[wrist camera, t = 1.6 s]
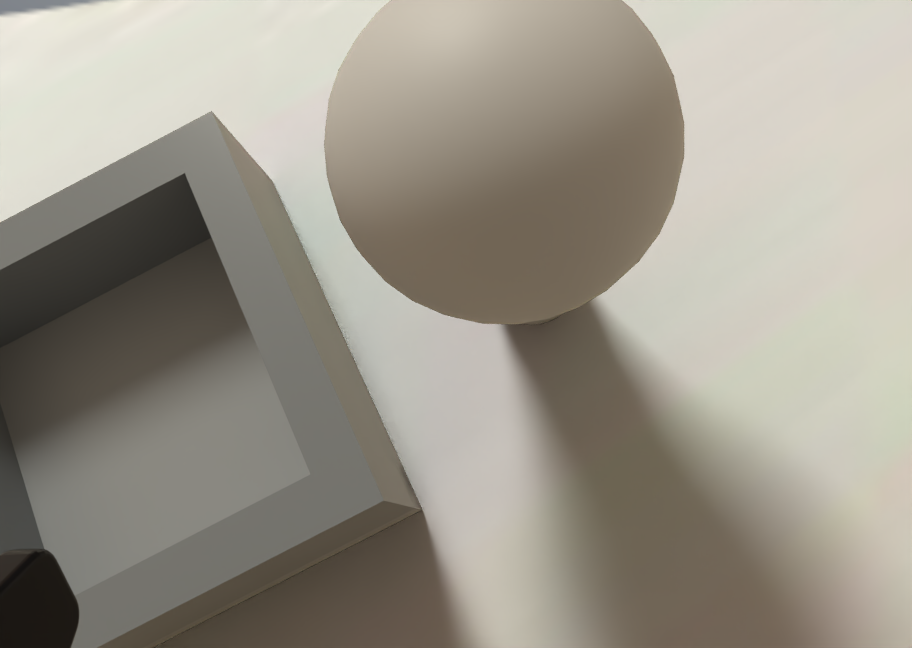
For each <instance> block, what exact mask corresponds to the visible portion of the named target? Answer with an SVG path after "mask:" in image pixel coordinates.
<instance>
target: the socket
mask: <svg viewBox="0 0 912 648" xmlns="http://www.w3.org/2000/svg"><path fill="white" fill-rule="evenodd" d="M421 510H422V508H421V506H420V503H419V501H418V499H417V497H416V495H415V493H414V490H413V488H412V486H411V484H410V482H409V479H408V477H407V475H406V473H405V471H404V468H403V466H402V464H401V462H400V460H399V457H398V455H397V453H396V451H395V449H394V446H393V444H392V442H391V440H390V438H389V436H388V433H387V431H386V429H385V427H384V425H383V422H382V420H381V418H380V416H379V414H378V411H377V409H376V407H375V405H374V403H373V400H372V398H371V396H370V394H369V392H368V390H367V387H366V385H365V383H364V381H363V379H362V376H361V374H360V372H359V370H358V368H357V365H356V363H355V361H354V359H353V357H352V354H351V352H350V350H349V348H348V346H347V344H346V341H345V339H344V337H343V335H342V333H341V330H340V328H339V326H338V324H337V322H336V319H335V317H334V315H333V313H332V311H331V308H330V306H329V304H328V302H327V300H326V297H325V295H324V293H323V291H322V289H321V287H320V284H319V282H318V280H317V278H316V276H315V273H314V271H313V269H312V267H311V265H310V262H309V260H308V258H307V256H306V254H305V251H304V249H303V247H302V245H301V243H300V241H299V238H298V236H297V234H296V232H295V230H294V227H293V225H292V223H291V221H290V219H289V216H288V214H287V212H286V210H285V208H284V205H283V203H282V201H281V199H280V197H279V195H278V192H277V190H276V188H275V186H274V184H273V181H272V180H271V179H270V178H269V176H268V175H267V174H266V173H265V172H264V171H263V170H262V168H261V167H260V166H259V165H258V164H257V163H256V162H255V160H254V159H253V158H252V157H251V156H250V155H249V154H248V152H247V151H246V150H245V149H244V148H243V147H242V145H241V144H240V143H239V142H238V141H237V140H236V139H235V137H234V136H233V135H232V134H231V133H230V132H229V131H228V129H227V128H226V127H225V126H224V125H223V124H222V122H221V121H220V120H219V119H218V118H217V117H216V116H215V114H214V113H213V112H212V111H211V112H209V113H207V114H205V115H203V116H202V117H200V118H198V119H196V120H194V121H192V122H190V123H188V124H186V125H184V126H183V127H181V128H179V129H177V130H175V131H173V132H171V133H169V134H167V135H165V136H164V137H162V138H160V139H158V140H156V141H154V142H152V143H150V144H148V145H147V146H145V147H143V148H141V149H139V150H137V151H135V152H133V153H131V154H129V155H128V156H126V157H124V158H122V159H120V160H118V161H116V162H114V163H112V164H110V165H109V166H107V167H105V168H103V169H101V170H99V171H97V172H95V173H93V174H92V175H90V176H88V177H86V178H84V179H82V180H80V181H78V182H76V183H74V184H73V185H71V186H69V187H67V188H65V189H63V190H61V191H59V192H57V193H55V194H54V195H52V196H50V197H48V198H46V199H44V200H42V201H40V202H38V203H37V204H35V205H33V206H31V207H29V208H27V209H25V210H23V211H21V212H19V213H18V214H16V215H14V216H12V217H10V218H8V219H6V220H4V221H2V222H0V555H1V554H2V553H4V552H7V551H10V550H15V549H45V550H48V551H49V552H51V553H52V554H53V555H54V556H55V558H56V560H57V561H58V563H59V565H60V567H61V569H62V571H63V573H64V575H65V577H66V579H67V581H68V583H69V585H70V587H71V589H72V591H73V593H74V595H75V597H76V599H77V602H78V605H79V624H78V628H77V631H76V634H75V637H74V640H73V643H72V646H71V648H153V647H155V646H157V645H159V644H161V643H163V642H165V641H167V640H169V639H171V638H172V637H174V636H176V635H178V634H180V633H182V632H184V631H186V630H188V629H190V628H192V627H194V626H196V625H198V624H200V623H202V622H204V621H206V620H208V619H210V618H212V617H214V616H216V615H217V614H219V613H221V612H223V611H225V610H227V609H229V608H231V607H233V606H235V605H237V604H239V603H241V602H243V601H245V600H247V599H249V598H251V597H253V596H255V595H257V594H259V593H260V592H262V591H264V590H266V589H268V588H270V587H272V586H274V585H276V584H278V583H280V582H282V581H284V580H286V579H288V578H290V577H292V576H294V575H296V574H298V573H300V572H302V571H303V570H305V569H307V568H309V567H311V566H313V565H315V564H317V563H319V562H321V561H323V560H325V559H327V558H329V557H331V556H333V555H335V554H337V553H339V552H341V551H343V550H345V549H347V548H348V547H350V546H352V545H354V544H356V543H358V542H360V541H362V540H364V539H366V538H368V537H370V536H372V535H374V534H376V533H378V532H380V531H382V530H384V529H386V528H388V527H390V526H391V525H393V524H395V523H397V522H399V521H401V520H403V519H405V518H407V517H409V516H411V515H413V514H415V513H417V512H419V511H421Z"/></svg>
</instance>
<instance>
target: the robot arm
mask: <svg viewBox="0 0 912 648" xmlns="http://www.w3.org/2000/svg"><path fill="white" fill-rule="evenodd" d="M78 624H79V605H78V602H77V599H76V597H75V595H74V593H73V591H72V589H71V587H70V585H69V583H68V581H67V579H66V577H65V575H64V573H63V571H62V569H61V567H60V565H59V563H58V561H57V560H56V558H55V556H54V555H53V554H52V553H51V552H49V551H48V550H45V549H15V550H10V551H7V552H4V553H2V554H1V555H0V648H71V646H72V643H73V640H74V637H75V634H76V631H77V628H78Z"/></svg>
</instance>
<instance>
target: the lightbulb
mask: <svg viewBox="0 0 912 648" xmlns="http://www.w3.org/2000/svg"><path fill="white" fill-rule="evenodd" d="M324 148H325V159H326V171H327V178H328V181H329V185H330V189H331V193H332V196H333V199H334V202H335V206H336V209H337V212H338V215H339V218H340V221H341V223H342V224H343V226H344V228H345V230H346V231H347V233H348V235H349V236H350V238H351V240H352V242H353V243H354V245H355V247H356V248H357V250H358V251H359V252H360V253H361V255H362V256H363V257H364V258H365V259H366V261H367V262H368V263H369V264H370V265H371V266H372V267H373V268H374V269H375V270H376V272H377V273H378V274H379V275H380V276H381V277H382V278H383V279H384V280H385V281H386V282H387V283H388V284H390V285H391V286H392V287H394V288H395V289H397V290H398V291H399V292H401V293H402V294H404V295H405V296H406V297H408V298H409V299H411V300H412V301H414V302H416V303H419V304H421V305H423V306H426V307H428V308H430V309H432V310H435V311H437V312H439V313H441V314H444V315H448V316H451V317H455V318H460V319H465V320H469V321H474V322H478V323H483V324H527V325H535V324H542V323H546V322H548V321H551V320H554V319H555V318H557V317H559V316H560V315H562V314H563V313H565V312H568V311H571V310H573V309H576V308H578V307H580V306H582V305H583V304H585V303H587V302H588V301H590V300H592V299H593V298H595V297H597V296H598V295H600V294H602V293H603V292H605V291H607V290H608V289H609V288H610V287H611V286H612V285H613V284H614V283H616V282H617V281H618V280H619V279H620V278H621V277H622V276H623V275H624V274H625V273H627V272H628V271H629V270H630V269H631V268H632V267H633V266H634V265H635V264H637V263H638V262H639V261H640V259H641V258H642V256H643V255H644V254H645V252H646V251H647V250H648V248H649V247H650V246H651V244H652V243H653V242H654V240H655V239H656V238H657V236H658V235H659V234H660V231H661V229H662V227H663V225H664V223H665V221H666V218H667V216H668V214H669V212H670V210H671V208H672V205H673V203H674V199H675V195H676V191H677V186H678V182H679V177H680V173H681V168H682V164H683V159H684V120H683V115H682V110H681V106H680V101H679V97H678V93H677V88H676V84H675V80H674V75H673V73H672V71H671V69H670V67H669V65H668V63H667V61H666V59H665V57H664V55H663V53H662V51H661V48H660V47H659V45H658V43H657V42H656V40H655V38H654V37H653V35H652V33H651V32H650V31H649V30H648V28H647V27H646V26H645V25H644V23H643V22H642V21H641V19H640V18H639V17H638V16H637V14H636V13H635V12H634V11H633V9H632V8H630V7H629V6H628V5H627V4H626V3H624V2H623V1H622V0H391V1H389V2H388V3H387V4H386V5H385V6H384V7H382V8H381V9H380V10H379V11H378V12H377V13H376V15H375V16H374V17H373V18H372V19H371V21H370V22H369V23H368V24H367V25H366V27H365V28H364V29H363V30H362V32H361V33H360V34H359V36H358V37H357V39H356V40H355V42H354V43H353V45H352V47H351V48H350V50H349V52H348V54H347V56H346V57H345V59H344V61H343V63H342V65H341V66H340V68H339V70H338V73H337V76H336V79H335V82H334V85H333V88H332V91H331V94H330V97H329V103H328V111H327V119H326V128H325V140H324Z"/></svg>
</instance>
